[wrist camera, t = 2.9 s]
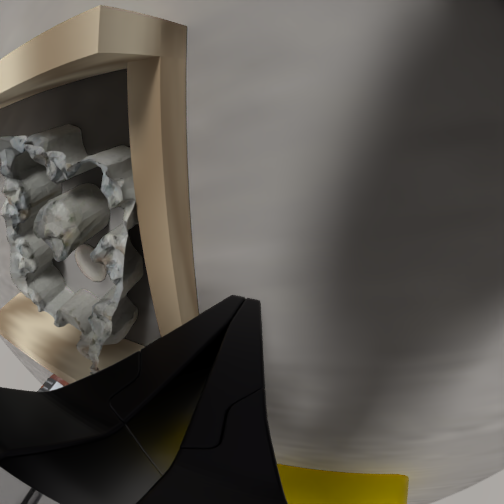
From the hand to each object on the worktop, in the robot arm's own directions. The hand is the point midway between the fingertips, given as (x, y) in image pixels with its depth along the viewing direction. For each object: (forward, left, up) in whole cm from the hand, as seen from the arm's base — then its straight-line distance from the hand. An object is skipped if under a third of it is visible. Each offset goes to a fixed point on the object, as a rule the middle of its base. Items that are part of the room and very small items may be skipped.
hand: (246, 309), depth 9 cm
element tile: (-7, +26, -3) cm, 27 cm away
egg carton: (+9, 0, -3) cm, 9 cm away
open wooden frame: (+12, 0, -2) cm, 12 cm away
